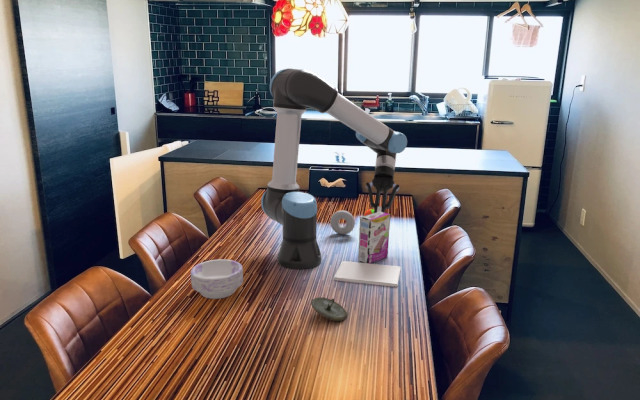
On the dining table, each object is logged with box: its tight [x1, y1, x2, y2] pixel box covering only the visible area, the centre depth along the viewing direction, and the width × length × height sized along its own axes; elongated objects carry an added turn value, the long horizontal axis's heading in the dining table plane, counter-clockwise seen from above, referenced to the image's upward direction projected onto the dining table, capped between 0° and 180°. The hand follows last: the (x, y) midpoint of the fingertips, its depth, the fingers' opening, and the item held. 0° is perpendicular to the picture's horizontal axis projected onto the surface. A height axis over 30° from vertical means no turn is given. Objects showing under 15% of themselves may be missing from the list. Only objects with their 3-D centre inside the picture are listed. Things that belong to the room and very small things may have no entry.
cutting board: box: [333, 260, 402, 288], centre depth 166 cm, size 14×20×1 cm
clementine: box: [363, 208, 374, 216], centre depth 215 cm, size 8×7×7 cm
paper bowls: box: [190, 258, 244, 300], centre depth 151 cm, size 15×15×8 cm
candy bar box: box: [357, 211, 391, 264], centre depth 176 cm, size 11×5×16 cm, turn 134°
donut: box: [329, 210, 356, 235], centre depth 203 cm, size 10×4×10 cm, turn 76°
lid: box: [310, 296, 348, 322], centre depth 139 cm, size 11×10×5 cm
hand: (377, 223), depth 185 cm, fingers closed
